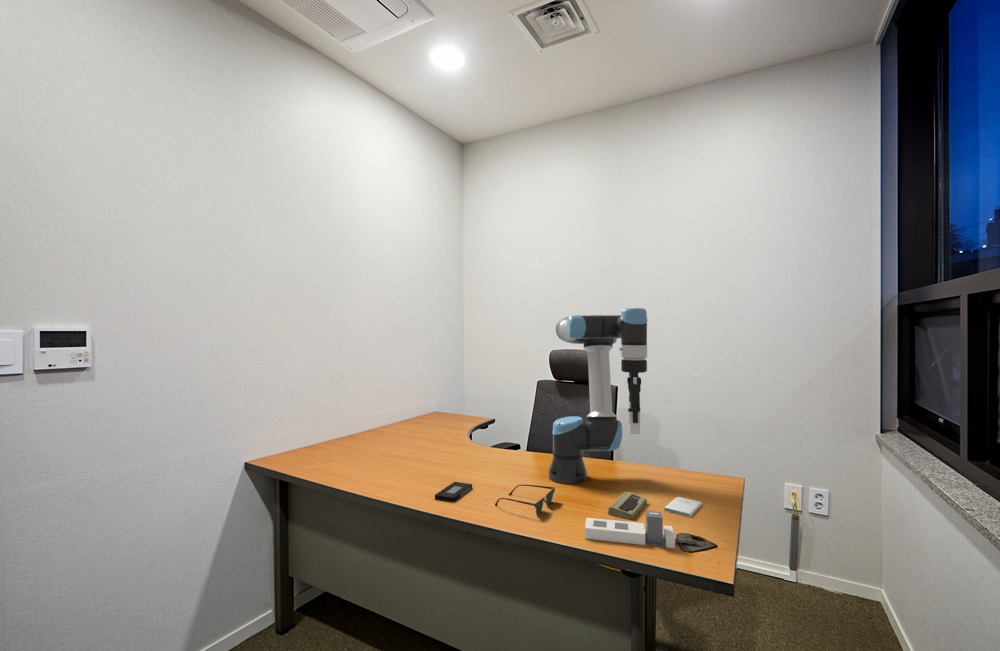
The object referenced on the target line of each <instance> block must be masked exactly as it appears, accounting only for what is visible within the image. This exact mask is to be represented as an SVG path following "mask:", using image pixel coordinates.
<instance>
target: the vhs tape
mask: <svg viewBox="0 0 1000 651" xmlns="http://www.w3.org/2000/svg"><path fill="white" fill-rule="evenodd" d="M472 489H473V484H472V483H466V482H459V481H454V482H452V483H450V484H449V485H446V487H444V488H443V489H442V490H440V491H438V492H437V493H436V494H434V500H438V501H442V502H443V501H444V502H450V503H455V502H456V501H459V499H460V498H461V497H462V496H464V495H465V494H467V493H468V492H469V491H471V490H472Z"/></svg>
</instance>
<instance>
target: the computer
mask: <svg viewBox="0 0 1000 651" xmlns="http://www.w3.org/2000/svg"><path fill="white" fill-rule="evenodd" d="M647 502H648V500H647V498H646V497H645V496H643V495H639V494H635V493H632V492H629V491H624V492H623V493H622V494H621V495H620V496H618V498H617V499H616V500H615V501H614V502H613V503H612V504H611V505H610V506H609V507H608V511H607V514H608V515H610V516H614V517H618V518H623V519H627V520H632V521H633V520H634V519H635V517H636V516H637V515H638V514H639V512H640V511H641V510H642V509H643V507H644V506H646V504H647Z"/></svg>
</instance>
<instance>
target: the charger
mask: <svg viewBox="0 0 1000 651" xmlns="http://www.w3.org/2000/svg"><path fill="white" fill-rule="evenodd" d="M663 520H664V519H663V515H662V512H661V511H656V510H655V511H652V510H646V512H645V533H646V537H647V542H655V543H663V535H664V524H663Z"/></svg>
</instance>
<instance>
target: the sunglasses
mask: <svg viewBox="0 0 1000 651" xmlns="http://www.w3.org/2000/svg"><path fill="white" fill-rule="evenodd" d="M521 486H522V487H524V486H525V487H533V488H534V487H535V488H541V489H548V490H549V489H550V491H549V492H548V493H547V494H546V495H545V496H544V497H541V499H540V500H538V501H537V502H535V503H532V502H527V501H523V500H519V499H511V498H506V497H505V498H504V497H501V498H498V499H497V500H496V502H495V503H494V506H496V507H497V506H498V505H499V504H498V503H499V501H501V500H506V501H511V502H515V503H521V504H524V505H528V506H532V507H534V509H535V514H536V516H538V515H540V514H541V512H542V510H543V506H544V503H545V505H546V506H549V505H550V504H551V503H552V501H553V497H554V494H555V490H556V487H554V486H545V485H535V484H518V485H516V486H515V487H514V488H513V489H512V490H511V491H510V492H509V493H508V496H512V495H513V493H514V491H515V490H516V489H517V488H518V487H521Z"/></svg>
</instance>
